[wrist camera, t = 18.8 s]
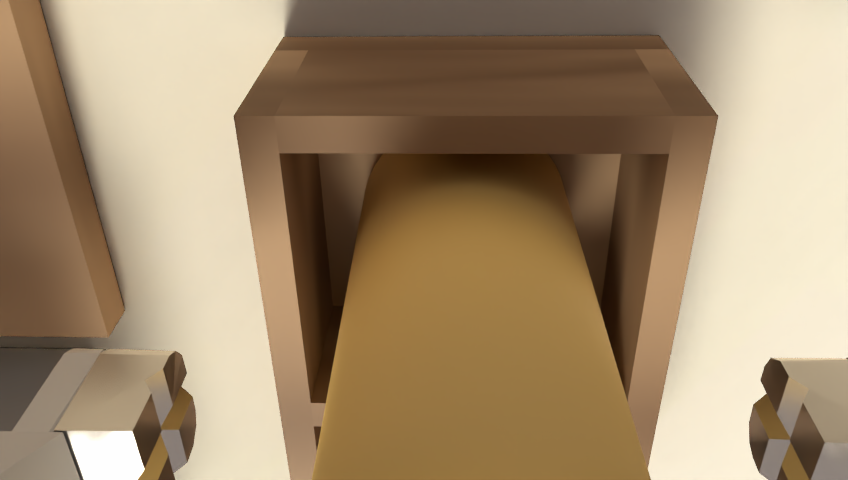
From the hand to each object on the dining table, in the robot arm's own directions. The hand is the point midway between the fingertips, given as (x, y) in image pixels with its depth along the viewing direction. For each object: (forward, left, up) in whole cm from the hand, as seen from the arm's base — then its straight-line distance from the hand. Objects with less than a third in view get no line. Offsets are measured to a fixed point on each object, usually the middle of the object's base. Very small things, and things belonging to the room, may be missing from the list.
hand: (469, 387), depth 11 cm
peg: (0, 0, -5) cm, 5 cm away
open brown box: (+3, 0, -6) cm, 7 cm away
